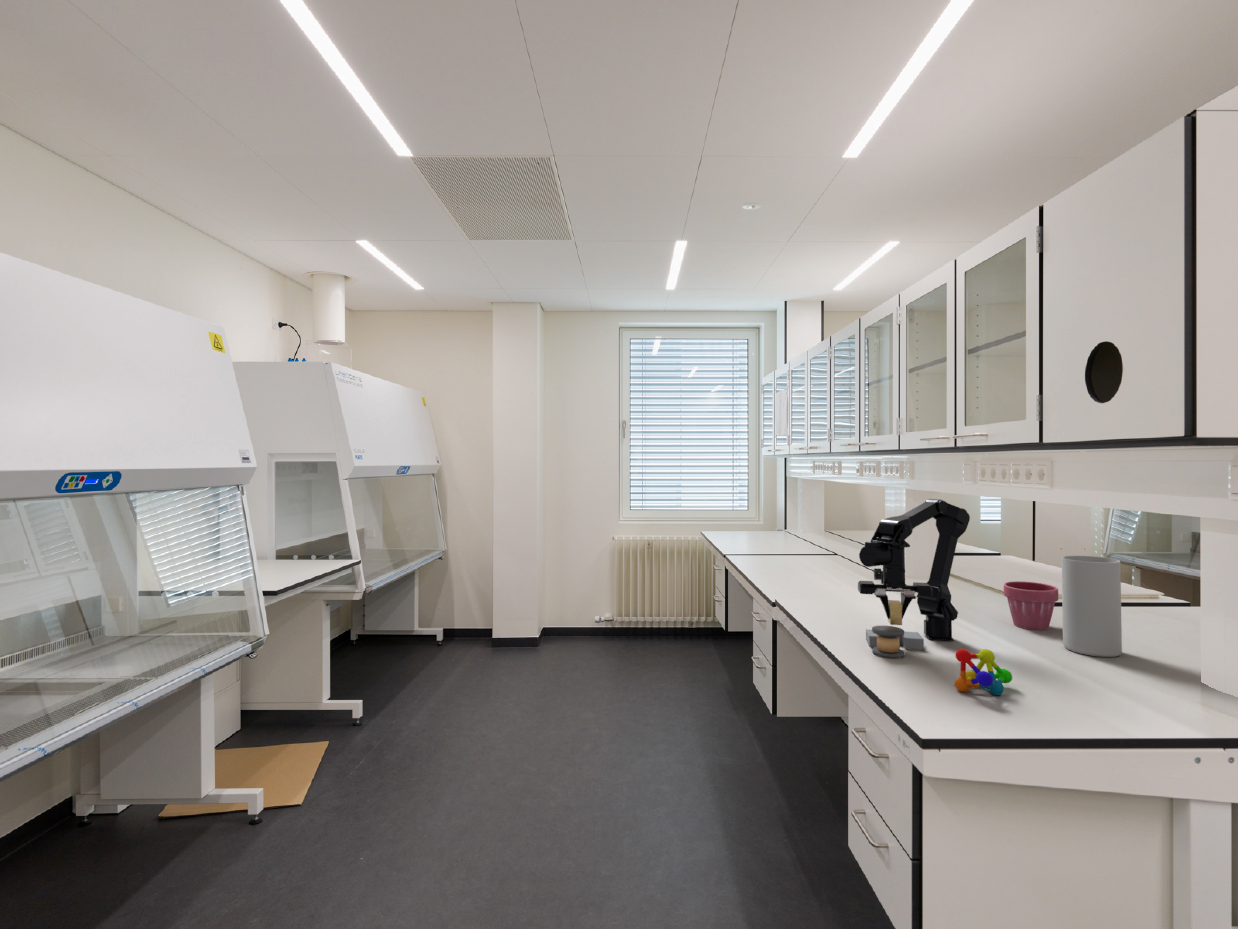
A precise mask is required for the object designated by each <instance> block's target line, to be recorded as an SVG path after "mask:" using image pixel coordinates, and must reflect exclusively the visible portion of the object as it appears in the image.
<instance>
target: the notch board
mask: <svg viewBox="0 0 1238 929" xmlns="http://www.w3.org/2000/svg"><path fill="white" fill-rule="evenodd" d="M865 641H866V642H867V645H868V647H869V648H874V647H877V634H875V633H873V632H872V629H867V628H866V629H865ZM899 644H900V645H901V646H903V648H904V649H906V650H916V651H917V650H919V651H924V650H925V647H924V646H925V645H924V644H925V642H924V638H923V636H922V635H921V634H920V633H919V632H918V631H905V630H904V635H903V636H899Z"/></svg>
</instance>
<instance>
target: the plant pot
mask: <svg viewBox="0 0 1238 929" xmlns="http://www.w3.org/2000/svg"><path fill="white" fill-rule="evenodd" d="M1003 596H1004V597H1006V598H1007V604H1008V607H1009V611H1010V615H1011V619H1012V622H1013V625H1014V626H1015V627H1018V626H1019V627H1018V628H1021V629H1025V628H1026V630H1031V631H1032V630H1034V631H1044V630H1045V631H1046V630H1049V628H1050V624H1051V620H1052V618H1053V617H1052V616H1053V612H1054V608H1055V603H1056V602H1058V601H1059V588H1058V587H1057V586H1055V585H1051V584H1048V583H1047V584H1046V583H1041V582H1035V581H1034V582H1033V581H1024V580H1023V581H1018V580H1017V581H1016V580H1015V581H1014V580H1013V581H1007V582H1004V583H1003Z"/></svg>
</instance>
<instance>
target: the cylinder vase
mask: <svg viewBox="0 0 1238 929" xmlns="http://www.w3.org/2000/svg"><path fill="white" fill-rule="evenodd" d="M1121 572H1122V571H1121V560H1119V559H1117V558H1111V557H1103V556H1093V555H1092V556H1091V555H1064V556H1061V593H1062V594H1061V595H1062V596H1061V597H1062V598H1061V599H1062V601H1061V602H1062V604H1061V605H1062V608H1061V609H1062V645H1063V647H1064V648H1066V649H1067V650H1069V651H1070V650H1071V652H1074V653H1077V654H1079V655H1080V654H1081V655H1084V654H1085V655H1084V656H1089V655H1090V656H1091V657H1097V658H1116V657H1119V656H1121V655H1122V653H1123V640H1122V639H1123V636H1122V635H1123V634H1122V633H1123V631H1122V583H1121V582H1122V580H1121V579H1122V577H1121V574H1122V573H1121Z"/></svg>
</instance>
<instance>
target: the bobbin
mask: <svg viewBox="0 0 1238 929" xmlns="http://www.w3.org/2000/svg"><path fill="white" fill-rule="evenodd" d="M871 630H872V632H873V633H875V634H877V647H872V650H871V651H872V654H873V655H875V656H877V657H879V658H880V657H881V658H885V659H896V660H897V659H902V658H904V657H905V654H906V653H905V650H902V649H900V644H899V636H903V635H904V631H905V630H904V629H903V628H901V627H898V626H894V625H874V626H871Z"/></svg>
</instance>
